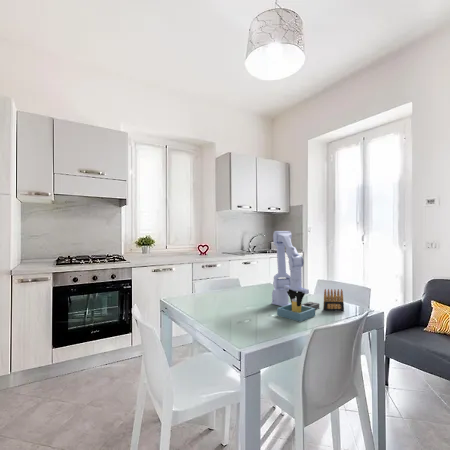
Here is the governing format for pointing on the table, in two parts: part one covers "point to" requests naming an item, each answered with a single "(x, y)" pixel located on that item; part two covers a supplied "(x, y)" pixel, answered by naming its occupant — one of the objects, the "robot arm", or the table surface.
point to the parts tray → (288, 313)
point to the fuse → (295, 306)
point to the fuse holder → (311, 305)
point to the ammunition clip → (333, 301)
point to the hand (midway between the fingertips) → (296, 305)
